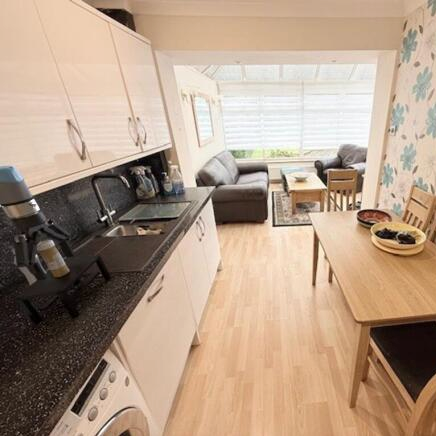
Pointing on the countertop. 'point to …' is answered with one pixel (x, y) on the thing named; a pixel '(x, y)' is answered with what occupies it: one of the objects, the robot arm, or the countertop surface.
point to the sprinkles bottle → (52, 258)
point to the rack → (61, 286)
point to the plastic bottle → (29, 276)
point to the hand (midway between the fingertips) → (57, 267)
